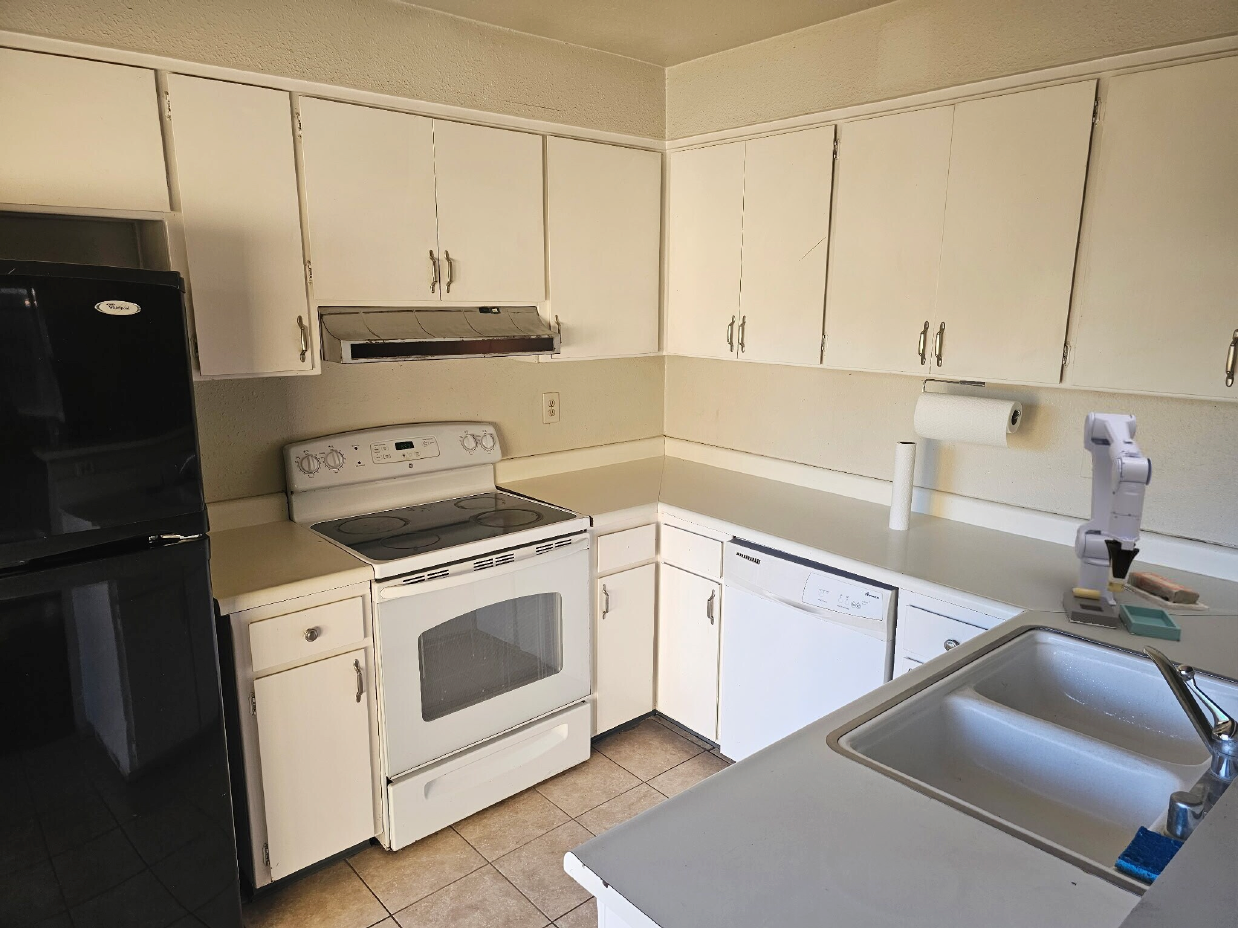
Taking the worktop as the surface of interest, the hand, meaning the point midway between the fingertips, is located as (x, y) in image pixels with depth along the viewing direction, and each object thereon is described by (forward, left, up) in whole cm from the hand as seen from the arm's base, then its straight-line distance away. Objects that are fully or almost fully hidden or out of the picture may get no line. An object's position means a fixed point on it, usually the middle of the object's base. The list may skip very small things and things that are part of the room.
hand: (1117, 576), depth 173 cm
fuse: (0, 0, -3) cm, 3 cm away
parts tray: (0, +7, -10) cm, 12 cm away
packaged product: (-28, +15, -11) cm, 34 cm away
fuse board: (-3, -4, -10) cm, 11 cm away
